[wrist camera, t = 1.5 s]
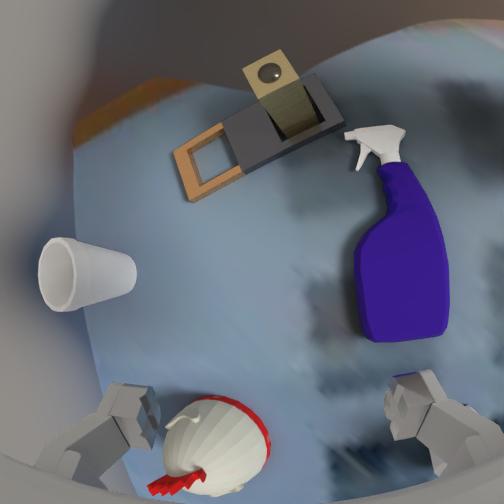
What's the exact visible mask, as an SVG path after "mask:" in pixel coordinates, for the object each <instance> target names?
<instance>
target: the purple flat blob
mask: <svg viewBox="0 0 504 504" xmlns="http://www.w3.org/2000/svg"><path fill="white" fill-rule="evenodd" d="M405 133H406V131H405V130H403V129H401V128H398V127H396V126H393V125H383V126H374V127H366V128H358V129H354V131H349V132H344V134H345V140H357V143H358V144H360V147H361V153H360V156H359V160H358V164H357V167H356V171H359V169H360V168H361V166H362V164H363V162H364V160H365V158H366V156H367V154H368V153H370V152H373V153H374V154H376V155H377V156H378V157H380V159H381V164H382V165H381V166H379V167H378V169H377V173H378V175H379V176H380V177H381V178H382V179H383V181H384V184H383V190H384V192H385V193H386V195H387V201H386V203H387V205H388V207H389V208H388V211H387V213H386V216H385V217H383V218H382V219H381V220H379V221H378V222H377V223H376V224H374V225H373V226H372V227H371V228H370V229H369V230H368V231H367V232H366V233H365V234H364V235H363V236H362V237H361V239H360V241H359V243H358V245H357V247H356V249H355V251H354V278H355V285H356V293H357V301H358V309H359V314H360V319H361V324H362V328H363V332H364V334H365V336H366V338H367V339H369V340H371V341H373V342H401V341H409V340H416V339H423V338H430V337H436V336H440V335H442V334H443V333H444V331H445V330H446V328H447V324H448V317H449V306H450V295H449V265H448V259H447V254H446V248H445V243H444V239H443V235H442V231H441V228H440V225H439V222H438V219H437V216H436V214H435V212H434V209H433V207H432V205H431V203H430V201H429V199H428V197H427V195H426V193H425V191H424V190H423V188H422V186H421V185H420V183H419V181H418V180H417V178H416V177H415V175H414V173H413V172H412V170H411V169H410V167H409V166H408V164H407V163H404V162H401V160H400V156H399V144H400V141H401V140H402V139H403V138H404V136H405Z"/></svg>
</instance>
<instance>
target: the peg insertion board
mask: <svg viewBox="0 0 504 504" xmlns="http://www.w3.org/2000/svg"><path fill="white" fill-rule="evenodd" d="M301 82H302V85H303V87H304V89H305V91H308V93H309V95H310V96H311V98H312V100H313V101H314V103H315V105H316V106H317V108H318V110H319V111H320V113H321V115H322V117H323V118H324V120H325V122H322V123H320V124H318V125H316V126H314V127H312V128H310V129H308V130H306V131H304V132H302V133H300V134H298V135H296V136H293V137H291V138H289V139H287V140H285V141H284V142H283V141H282V139H281V137H280V135H279V133H278V131H277V129H276V127H275V125H274V123H273V121H272V119H271V118H270V116H269V114H268V112H267V110H266V109H265V108H264V106H263V105H262V104H261V102H260V101H258V102H256V103H254V104H252V105H250V106H249V107H247V108H245V109H243V110H241V111H240V112H238V113H236V114H234V115H232V116H231V117H229V118H227V119H225V120H224V121H222V122H220V123H219V124H217V125H215V126H213V127H212V128H210V129H208V130H207V131H205V132H203V133H202V134H200V135H199V136H197V137H195V138H194V139H192V140H190V141H189V142H187V143H186V144H184V145H183V146H181V147H179V148H178V149H176V150H175V151H173V153H174V156H175V159H176V162H177V165H178V168H179V171H180V174H181V177H182V180H183V183H184V186H185V189H186V192H187V195H188V198H189V201H192V202H197V201H199V200H201V199H202V198H204V197H206V196H208V195H210V194H211V193H213V192H215V191H217V190H219V189H221V188H222V187H224V186H226V185H228V184H230V183H232V182H233V181H235V180H237V179H239V178H241V177H243V176H245V175H247V174H248V173H250V172H252V171H254V170H256V169H258V168H260V167H262V166H264V165H266V164H268V163H270V162H272V161H274V160H276V159H277V158H279V157H281V156H283V155H285V154H287V153H289V152H291V151H293V150H295V149H298V148H300V147H302V146H304V145H306V144H308V143H310V142H312V141H314V140H316V139H318V138H320V137H322V136H324V135H327V134H329V133H331V132H333V131H335V130H337V129H339V128H342V127H344V126H346V125H345V121H344V119H343V117H342V116H341V114H340V112H339V111H338V109H337V107H336V106H335V104H334V102H333V101H332V99H331V98H330V96H329V94H328V93H327V91H326V90H325V88H324V87H323V85H322V83H321V82H320V80H319V79H318V77H317V76H316V74H315V73H314V74H312V75H310V76H308V77H306V78H303V79H301ZM225 133H226V135H227V138H228V140H229V142H230V145H231V147H232V149H233V152H234V154H235V157H236V159H237V161H238V164H239V165H238V166H236V167H234V168H232V169H230V170H229V171H227V172H225V173H223V174H221V175H220V176H218V177H216V178H214V179H212V180H211V181H209V182H207V183H205V184H204V185H203V183H202V180H201V177H200V174H199V172H198V169H197V166H196V163H195V160H194V157H193V155H192V153H193V152H195V151H196V150H198V149H200V148H201V147H203V146H205V145H206V144H208V143H210V142H211V141H213V140H215V139H216V138H218V137H220V136H222V135H223V134H225Z"/></svg>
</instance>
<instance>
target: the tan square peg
mask: <svg viewBox="0 0 504 504" xmlns="http://www.w3.org/2000/svg"><path fill="white" fill-rule="evenodd" d="M242 70H243V72H244V74H245V75H246V78H247V79H248V81H249V83H250V85H251V87H252V88H253V91H254V93H255V94H256V96H257V98H258V100H259V101H260V102H261V104H262V105H263V106H264V108H265V109H266V110H267V112H268V113H269V114H270V116H271V117H272V118H273V119H274V121H275V122H276V123H277V125H278V126H279V128H280V129H281V130H282V132H283V133H284V134H285V136H286V137H287V138H288V139H289V138H291V137H293V136H295V135H297V134H300V133H302V132H304V131H306V130H308V129H310V128H312V127H314V126H316V125H318V124H320V123H319V121H318V118H317V116H316V114H315V111H314V109H313V107H312V104H311V102H310V100H309V98H308V95H307V93H306V91H305V89H304V87H303V85H302V82H301V80H300V78H299V77H298V75H297V74H296V72H295V71H294V69H293V67H292V66H291V64H290V63H289V61H288V60H287V58H286V57H285V55H284V54H283V52H282V51H281V49H280V50H278V51H276V52H273V53H271V54H270V55H268V56H266V57H264V58H262V59H260V60H258V61H256V62H254V63H252V64H250V65H248V66H247V67H245V68H243V69H242Z"/></svg>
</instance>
